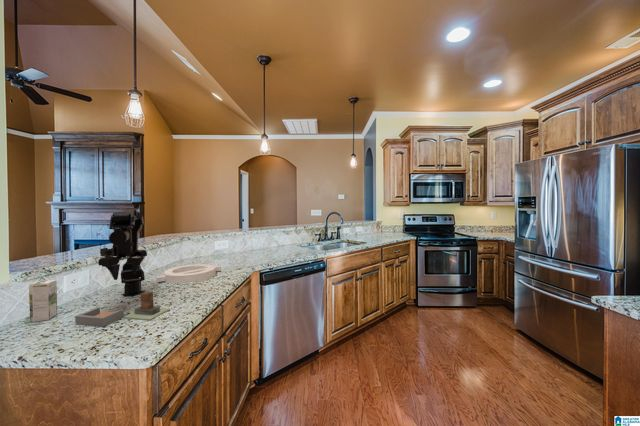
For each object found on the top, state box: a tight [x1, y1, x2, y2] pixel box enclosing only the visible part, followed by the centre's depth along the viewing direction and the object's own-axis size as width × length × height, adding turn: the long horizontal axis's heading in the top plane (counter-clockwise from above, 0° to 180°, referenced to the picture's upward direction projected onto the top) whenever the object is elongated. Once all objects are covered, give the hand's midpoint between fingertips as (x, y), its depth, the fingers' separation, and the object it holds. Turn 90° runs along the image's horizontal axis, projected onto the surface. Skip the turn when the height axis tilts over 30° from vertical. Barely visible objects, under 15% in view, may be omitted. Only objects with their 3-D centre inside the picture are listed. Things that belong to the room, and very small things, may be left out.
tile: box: [96, 311, 115, 317], centre depth 103 cm, size 6×6×2 cm
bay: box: [74, 307, 125, 327], centre depth 101 cm, size 8×12×3 cm, turn 79°
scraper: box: [134, 291, 161, 315], centre depth 107 cm, size 4×8×8 cm, turn 79°
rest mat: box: [122, 307, 170, 321], centre depth 107 cm, size 10×12×1 cm
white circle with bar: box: [155, 263, 222, 284], centre depth 161 cm, size 28×28×5 cm
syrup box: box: [28, 279, 58, 323], centre depth 104 cm, size 6×6×14 cm
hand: (125, 276), depth 116 cm, fingers open, 9 cm apart
